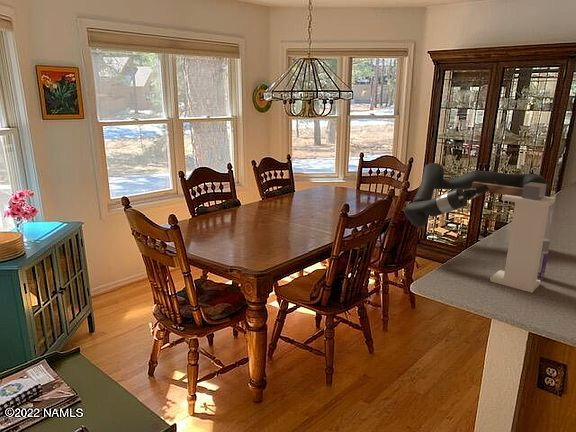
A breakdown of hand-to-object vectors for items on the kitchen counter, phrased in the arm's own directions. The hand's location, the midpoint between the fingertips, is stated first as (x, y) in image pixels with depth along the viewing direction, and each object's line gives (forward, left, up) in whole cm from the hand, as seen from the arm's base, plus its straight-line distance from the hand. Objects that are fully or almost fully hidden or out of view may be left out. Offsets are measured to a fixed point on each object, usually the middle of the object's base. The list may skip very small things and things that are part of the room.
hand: (492, 185), depth 155 cm
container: (-18, +9, -34) cm, 40 cm away
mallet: (-2, +4, -2) cm, 5 cm away
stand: (-6, +11, -34) cm, 36 cm away
